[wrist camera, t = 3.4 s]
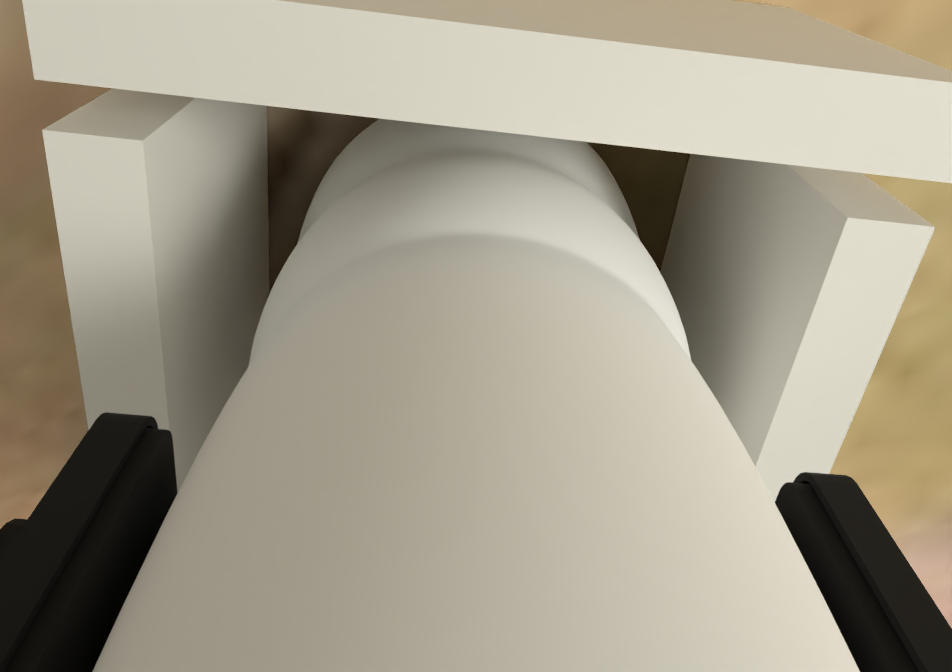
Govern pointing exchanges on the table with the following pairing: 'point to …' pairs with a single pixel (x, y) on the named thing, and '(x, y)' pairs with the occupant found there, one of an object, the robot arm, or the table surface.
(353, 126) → the table surface
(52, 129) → the holder sleeve
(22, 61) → the table surface
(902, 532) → the table surface
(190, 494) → the water bottle
